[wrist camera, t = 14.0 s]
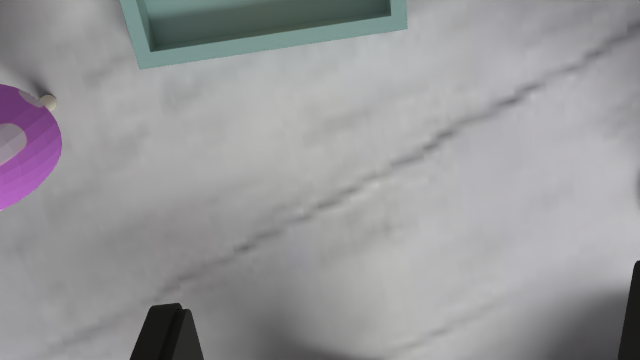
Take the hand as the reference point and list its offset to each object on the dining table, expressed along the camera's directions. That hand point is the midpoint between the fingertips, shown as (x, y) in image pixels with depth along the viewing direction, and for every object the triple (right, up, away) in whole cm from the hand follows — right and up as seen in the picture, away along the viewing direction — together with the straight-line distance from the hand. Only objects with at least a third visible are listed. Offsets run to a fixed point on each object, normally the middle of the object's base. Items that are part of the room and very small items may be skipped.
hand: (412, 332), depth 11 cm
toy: (-22, +9, +28) cm, 37 cm away
